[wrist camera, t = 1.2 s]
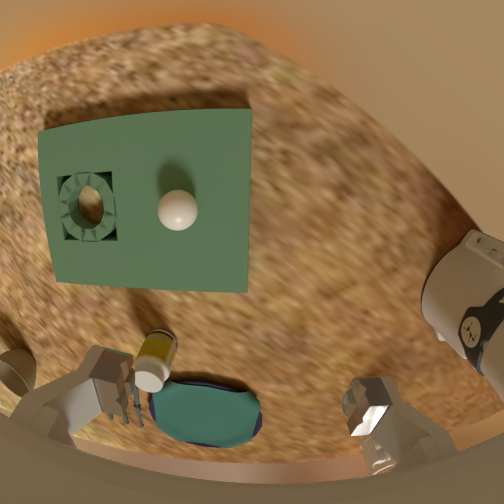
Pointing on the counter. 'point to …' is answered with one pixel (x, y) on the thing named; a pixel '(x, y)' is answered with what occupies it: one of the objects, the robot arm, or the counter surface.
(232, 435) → the cutlery set
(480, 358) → the robot arm
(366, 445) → the white tall piece
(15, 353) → the flower pot
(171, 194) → the golf ball
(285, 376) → the counter surface
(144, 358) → the supplement bottle
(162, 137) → the putting board
